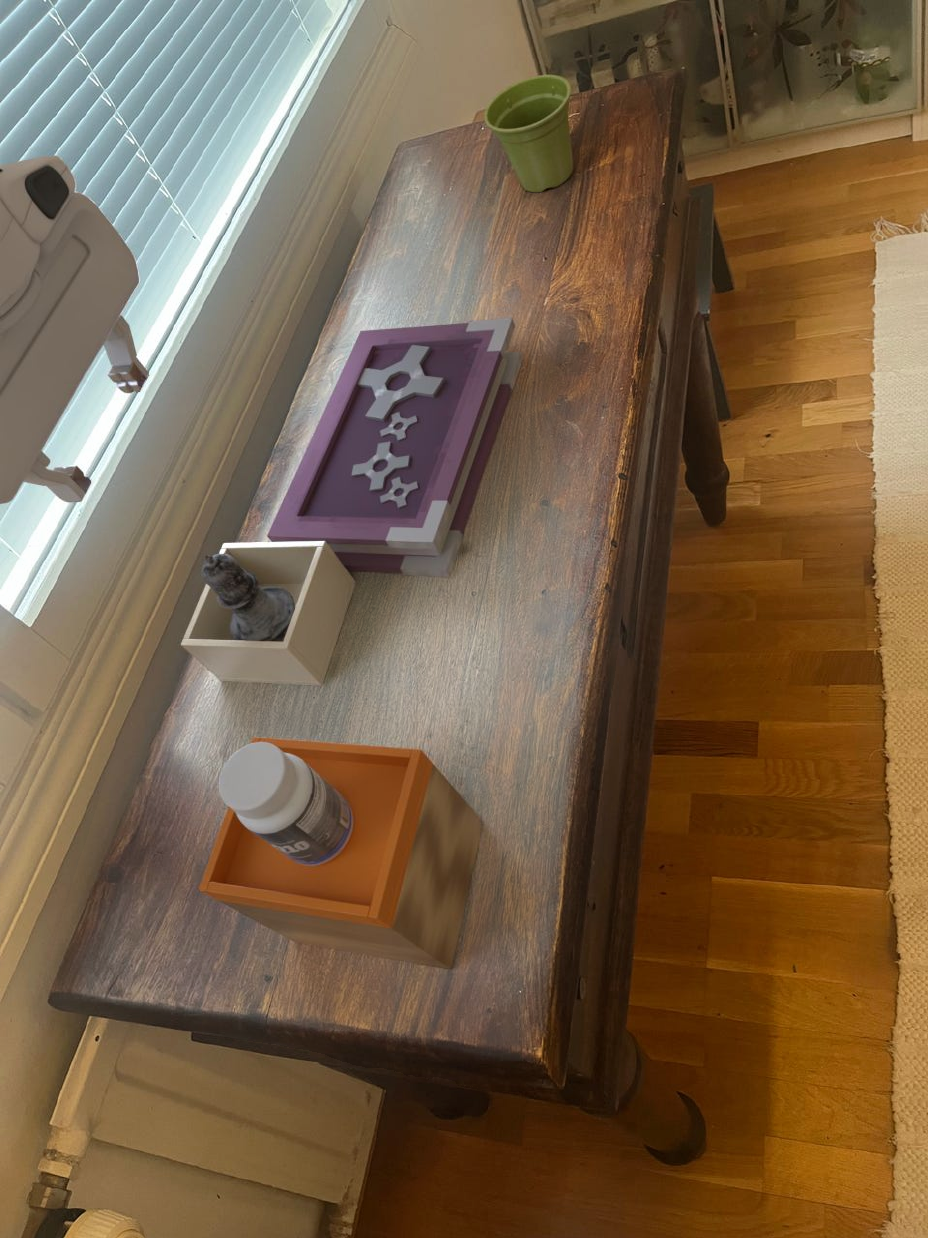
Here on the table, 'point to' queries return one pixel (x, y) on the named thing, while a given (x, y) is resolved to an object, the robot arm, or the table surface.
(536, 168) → the plant pot
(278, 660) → the cream bin
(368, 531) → the book
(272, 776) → the pill bottle
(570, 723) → the table surface
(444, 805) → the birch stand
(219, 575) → the chess bishop
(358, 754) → the amber tray
